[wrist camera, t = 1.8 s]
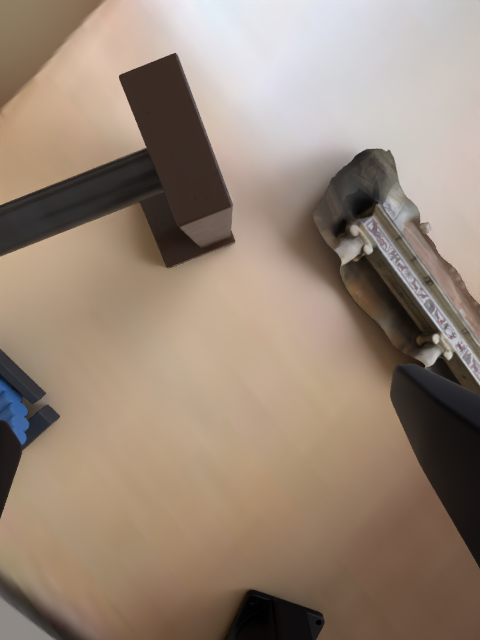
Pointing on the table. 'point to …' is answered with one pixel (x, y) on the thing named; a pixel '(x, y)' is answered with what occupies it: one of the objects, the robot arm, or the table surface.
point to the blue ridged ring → (13, 409)
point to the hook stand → (141, 177)
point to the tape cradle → (28, 398)
